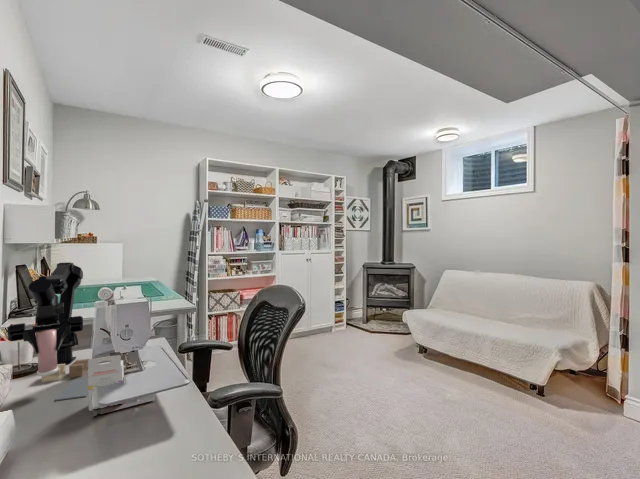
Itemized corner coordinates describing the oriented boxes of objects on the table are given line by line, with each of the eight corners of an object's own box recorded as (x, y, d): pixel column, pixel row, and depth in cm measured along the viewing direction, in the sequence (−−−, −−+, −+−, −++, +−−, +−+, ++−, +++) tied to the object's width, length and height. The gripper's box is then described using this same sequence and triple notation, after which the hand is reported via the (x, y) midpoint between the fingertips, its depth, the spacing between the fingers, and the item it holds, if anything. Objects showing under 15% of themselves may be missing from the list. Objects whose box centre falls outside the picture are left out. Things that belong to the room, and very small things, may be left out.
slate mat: (73, 381, 113) (73, 379, 113) (100, 377, 115) (100, 376, 115) (54, 401, 99) (54, 399, 99) (86, 396, 102) (86, 395, 102)
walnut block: (77, 370, 122) (77, 359, 121) (89, 369, 123) (89, 358, 123) (69, 377, 116) (69, 366, 116) (82, 376, 117) (82, 365, 117)
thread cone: (42, 370, 106) (41, 330, 106) (61, 368, 108) (60, 328, 108) (33, 377, 101) (32, 334, 101) (54, 374, 103) (53, 333, 103)
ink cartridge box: (124, 397, 101) (124, 349, 101) (122, 404, 97) (122, 355, 97) (91, 403, 98) (90, 354, 98) (87, 411, 93) (86, 360, 93)
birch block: (48, 376, 117) (48, 365, 117) (65, 374, 118) (65, 363, 118) (41, 382, 112) (41, 371, 112) (59, 380, 114) (59, 369, 113)
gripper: (7, 299, 101) (3, 344, 93) (82, 292, 113) (84, 331, 104) (11, 319, 108) (7, 363, 99) (81, 310, 119) (83, 349, 111)
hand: (47, 351), depth 103 cm, fingers closed on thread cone, 5 cm apart
